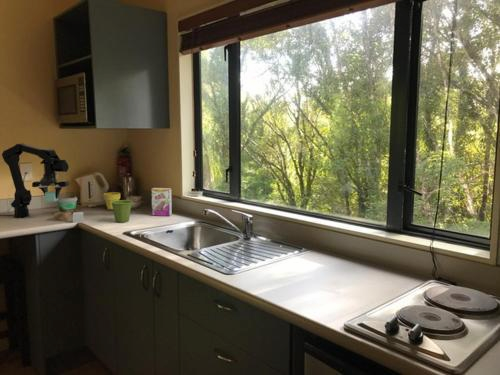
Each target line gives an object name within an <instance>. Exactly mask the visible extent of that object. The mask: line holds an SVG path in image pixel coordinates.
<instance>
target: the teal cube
mask: <svg viewBox="0 0 500 375" xmlns="http://www.w3.org/2000/svg"><path fill="white" fill-rule="evenodd" d="M44 197H45V198H44V200H45V202H57V200H58V199H59V197H58V198H57V199H56V190H54V191H48V192H46V193H45V195H44Z"/></svg>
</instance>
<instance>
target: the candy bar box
mask: <svg viewBox="0 0 500 375" xmlns="http://www.w3.org/2000/svg"><path fill="white" fill-rule="evenodd" d="M150 192H151V193H150V194H151V197H150V198H151V216H152V217H154V216H155V217H171V216H172V215H173V214H172V212H173V211H172V208H173V206H172V204H173V203H172V198H173V197H172V188H171V187H169V188H167V187H166V188H165V187H152V188H151V191H150Z"/></svg>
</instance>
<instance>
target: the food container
mask: <svg viewBox="0 0 500 375" xmlns="http://www.w3.org/2000/svg"><path fill="white" fill-rule="evenodd" d="M77 201H78V197H77V196H76V195H75V196H74V197H66V198H58V200H57V201H56V202H57V205H58V209H59V210H58V212H71V214H72V215H73V213H75V212H77Z"/></svg>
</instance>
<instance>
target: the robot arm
mask: <svg viewBox="0 0 500 375" xmlns="http://www.w3.org/2000/svg"><path fill="white" fill-rule="evenodd" d="M23 153H28V154H31V155H35V156H36V157H37V156H38V158H40V159H42V160H41V161H40V164H41V165H43V168H44V169H43V170H44V171H43V172H44V173H43V177H42V178H41V179H40V180H37V181H32V183H31V187H32V188H38V189H40V190H41V191H42V193H43V194H44V196H45V193H46V192H49V188H48V187H49V186H51V187H52V186H55V187H54V191H56V199H57V198H58V199H59V195H60V194H61V193H60V192H61V190H62V188H65V187H69V186H70V181H68V180H60V181H58V180H57V174H58V173H65V172H66V173H67V172H68V171H69V164H68V162H67V160H66V159H61V158H60V157H59V156H58V155H57V153H56V150H55V149H50V148H40V147H36V146H33V145H29V144H25V143H16V144H15V145H14V146H11V147H8V148H7V149H4V150H3V151H2V153H1V156H2V160H4V161H3V162H4V163H5V164H6V165H7V166H8V167H9V171H10V174H11V175H10V176H11V178H12V181H13V186H14V189H15V192H14V196H13V197H14V200H13V201H12V202H10V205H11V208H13V210H14V216H13V218H22V219H23V218H27V217H30V212H29V210H30V209H29V206H30V205H31V201H32V197H33V196H32V192H31V190H30V189H27V188H26V186H25V183H24V179H23V177H22V172H21V170H20V166H19V163H20V156H21V155H23Z"/></svg>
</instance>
